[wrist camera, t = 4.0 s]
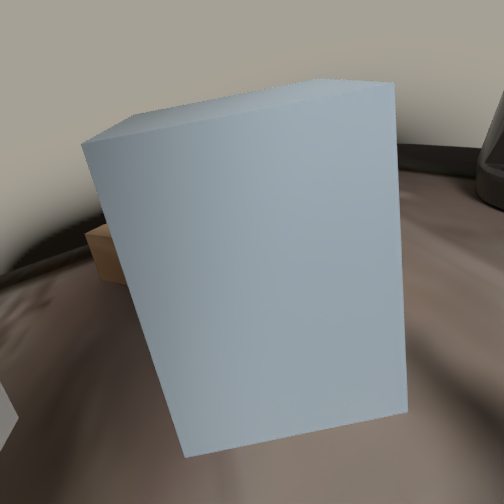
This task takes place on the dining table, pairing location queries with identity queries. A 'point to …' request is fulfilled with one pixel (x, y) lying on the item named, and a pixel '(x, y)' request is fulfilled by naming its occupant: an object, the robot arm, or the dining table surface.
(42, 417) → the dining table surface
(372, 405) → the slate block
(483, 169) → the robot arm
